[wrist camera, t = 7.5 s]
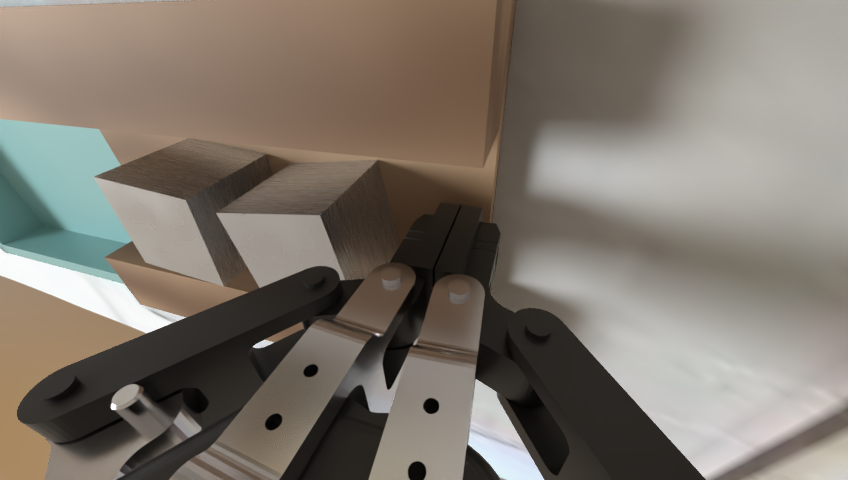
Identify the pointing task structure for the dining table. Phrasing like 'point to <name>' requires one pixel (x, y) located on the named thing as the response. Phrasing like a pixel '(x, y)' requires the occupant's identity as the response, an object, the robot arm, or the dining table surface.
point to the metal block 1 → (185, 204)
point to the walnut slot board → (273, 96)
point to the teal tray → (57, 197)
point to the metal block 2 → (314, 221)
